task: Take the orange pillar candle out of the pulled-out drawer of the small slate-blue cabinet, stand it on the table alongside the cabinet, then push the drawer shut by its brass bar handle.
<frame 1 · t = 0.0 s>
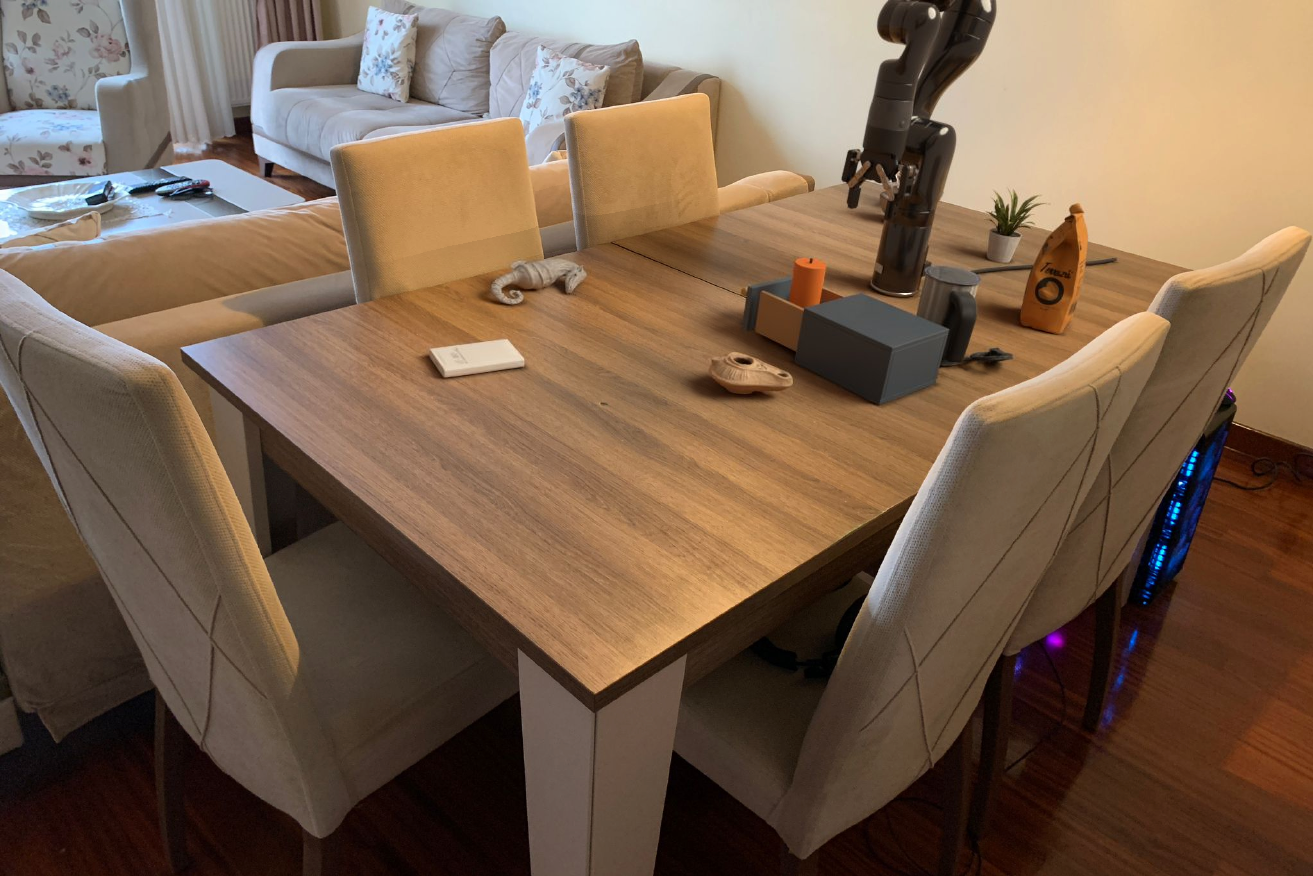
hand: (870, 213, 170), 17 cm above the table, tool pointing down, fingers open, 8 cm apart
drawer: (796, 312, 157), point 5 cm above the table, slide at 12.0 cm, touching candle
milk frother: (956, 361, 157), on the table
seahorse: (537, 292, 168), on the table
hard drive: (476, 363, 140), on the table
pottery oil lamp: (747, 393, 139), on the table
coffee package: (1041, 322, 177), on the table
cabinet: (864, 373, 149), on the table
house plant: (1004, 260, 211), on the table
pottery: (906, 218, 236), on the table
candle: (799, 329, 158), point 2 cm above the table, touching drawer
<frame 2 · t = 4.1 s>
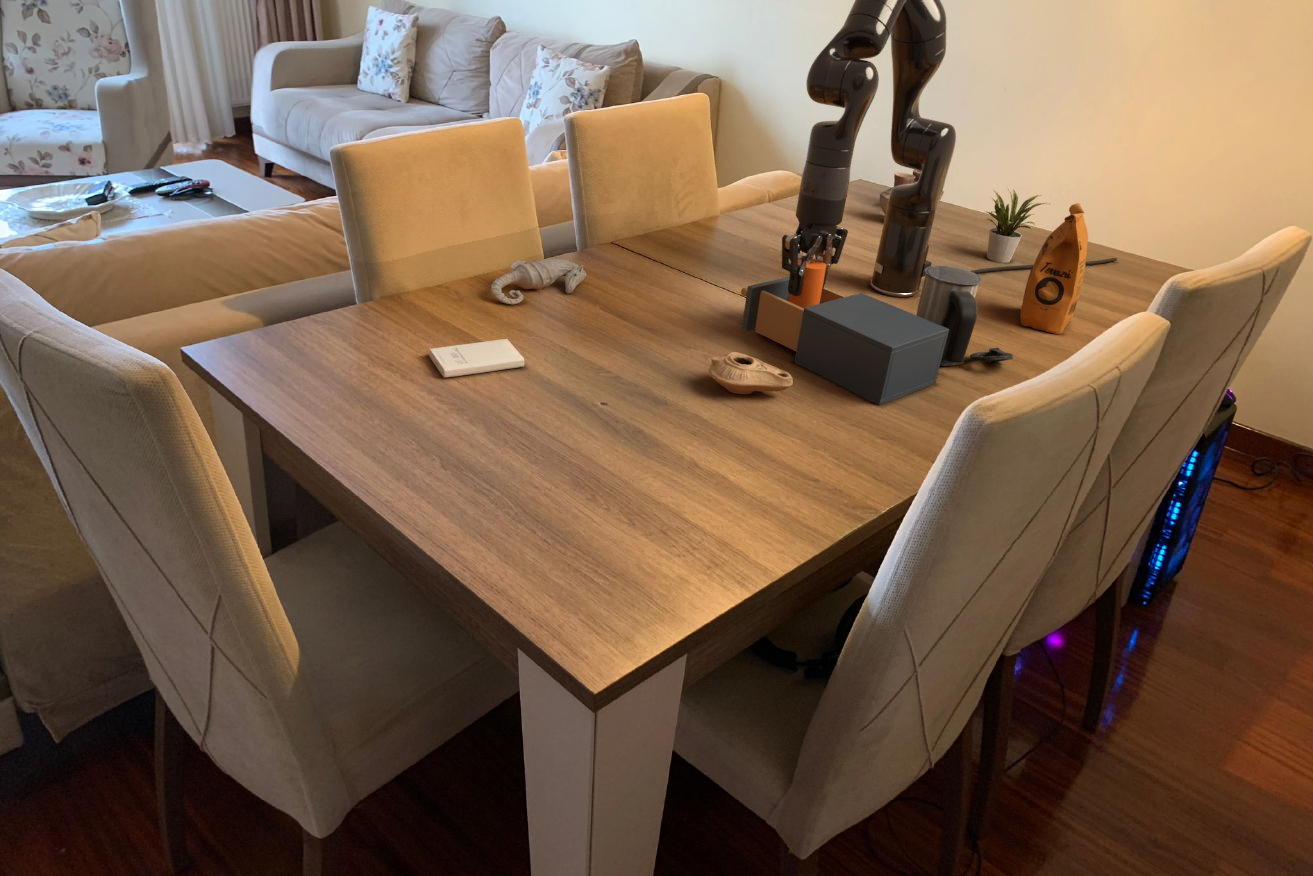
hand: (805, 291, 154), 9 cm above the table, tool pointing down, fingers closed on candle, 5 cm apart
candle: (799, 329, 158), point 2 cm above the table, touching drawer, gripper
everything else where it was.
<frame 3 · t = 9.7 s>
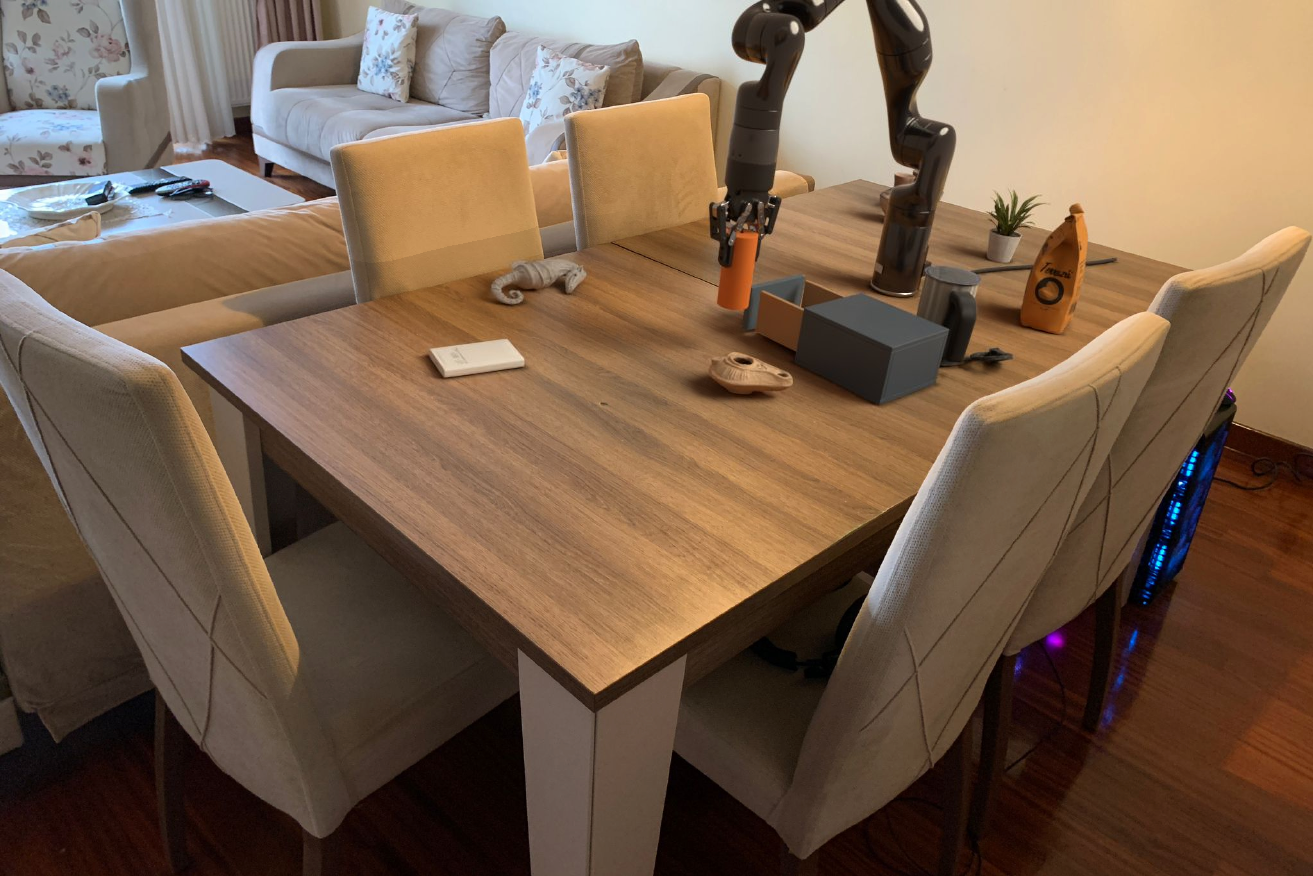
hand: (738, 263, 146), 15 cm above the table, tool pointing down, fingers closed on candle, 5 cm apart
drawer: (796, 312, 157), point 5 cm above the table, slide at 12.0 cm
candle: (732, 304, 150), point 8 cm above the table, touching gripper
everything else where it was.
when the fingers open (7 cm above the table, at t = 12.3 s): candle stays where it is, on the table.
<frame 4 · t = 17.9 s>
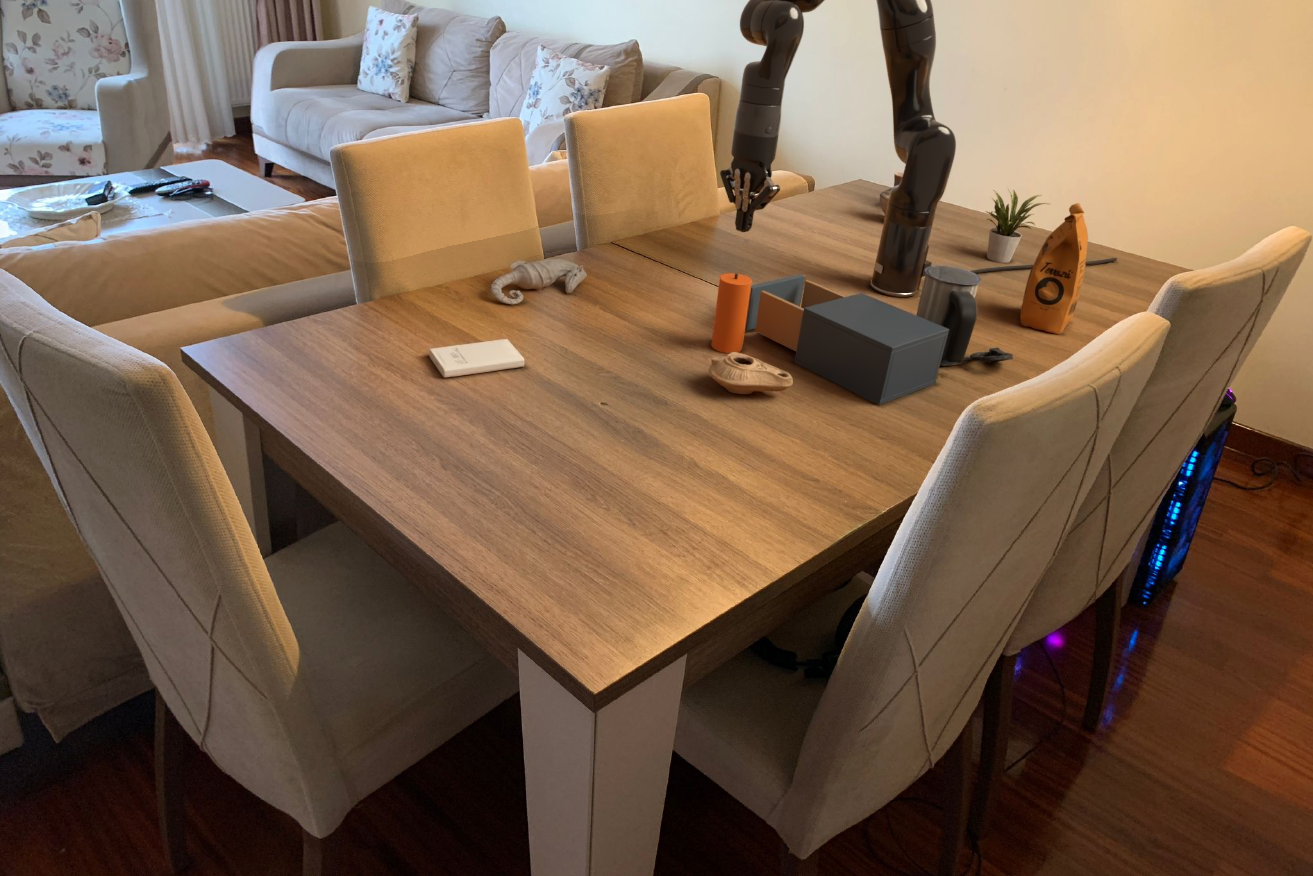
hand: (742, 230, 162), 15 cm above the table, tool pointing down, fingers closed
candle: (726, 346, 154), on the table
everything else where it was.
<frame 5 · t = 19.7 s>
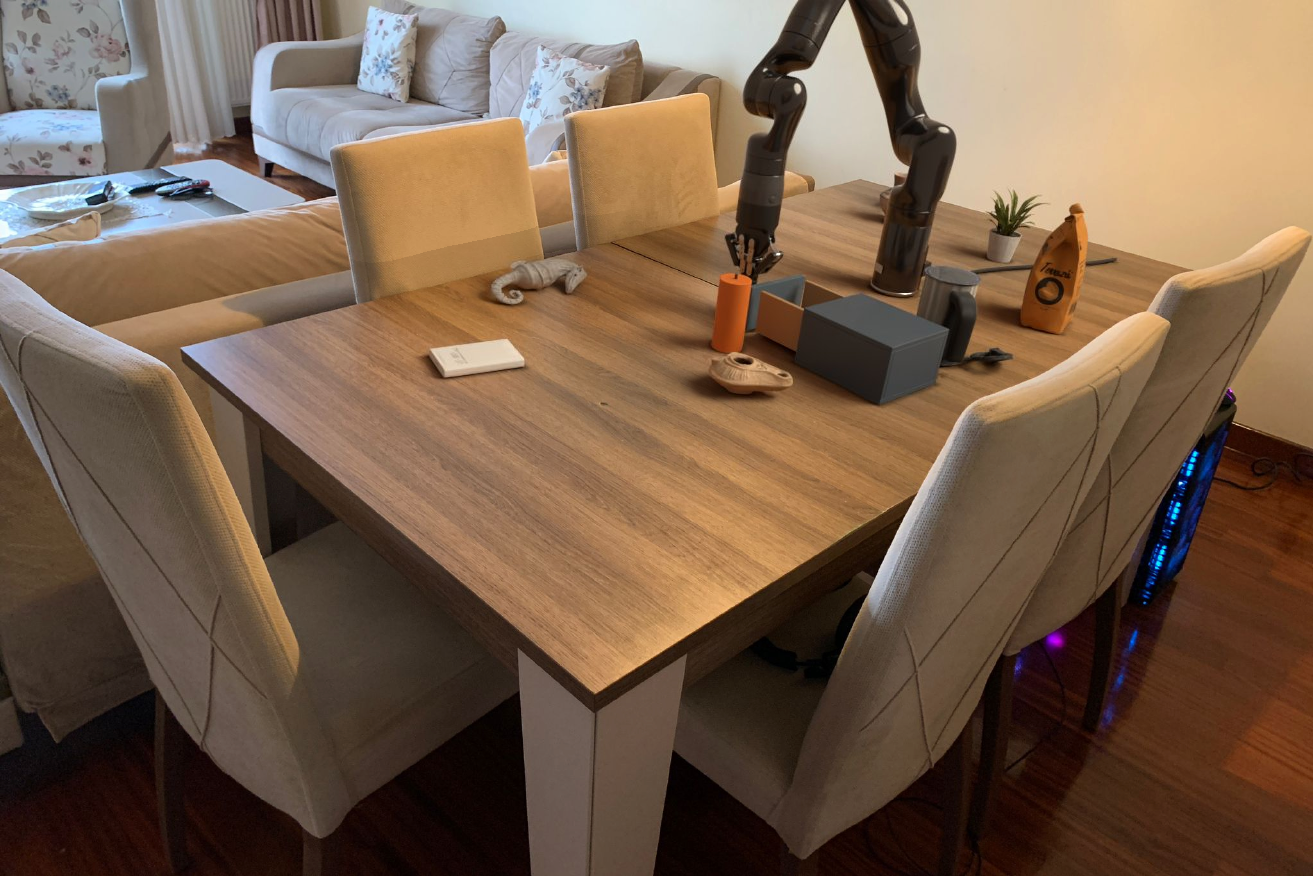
hand: (746, 292, 165), 4 cm above the table, tool pointing down, fingers closed
drawer: (797, 312, 157), point 5 cm above the table, slide at 12.0 cm, touching gripper
everything else where it was.
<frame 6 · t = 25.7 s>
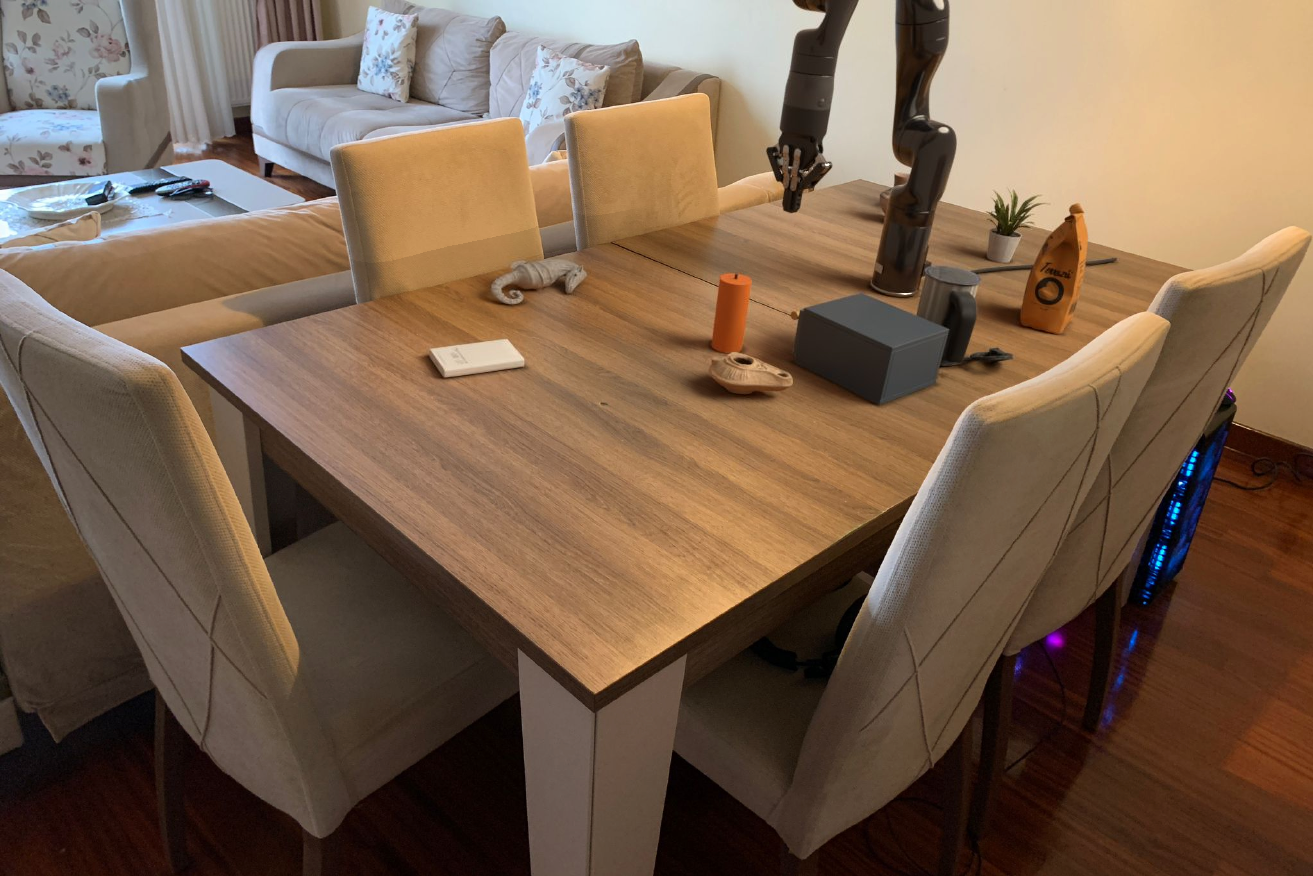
hand: (790, 211, 152), 21 cm above the table, tool pointing down, fingers closed
drawer: (851, 337, 149), point 5 cm above the table, slide at 0.0 cm
everything else where it was.
at the end: candle inside the target area (0.0 cm from its centre), on the table; candle tilted 0°; drawer slide at 0.0 cm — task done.
